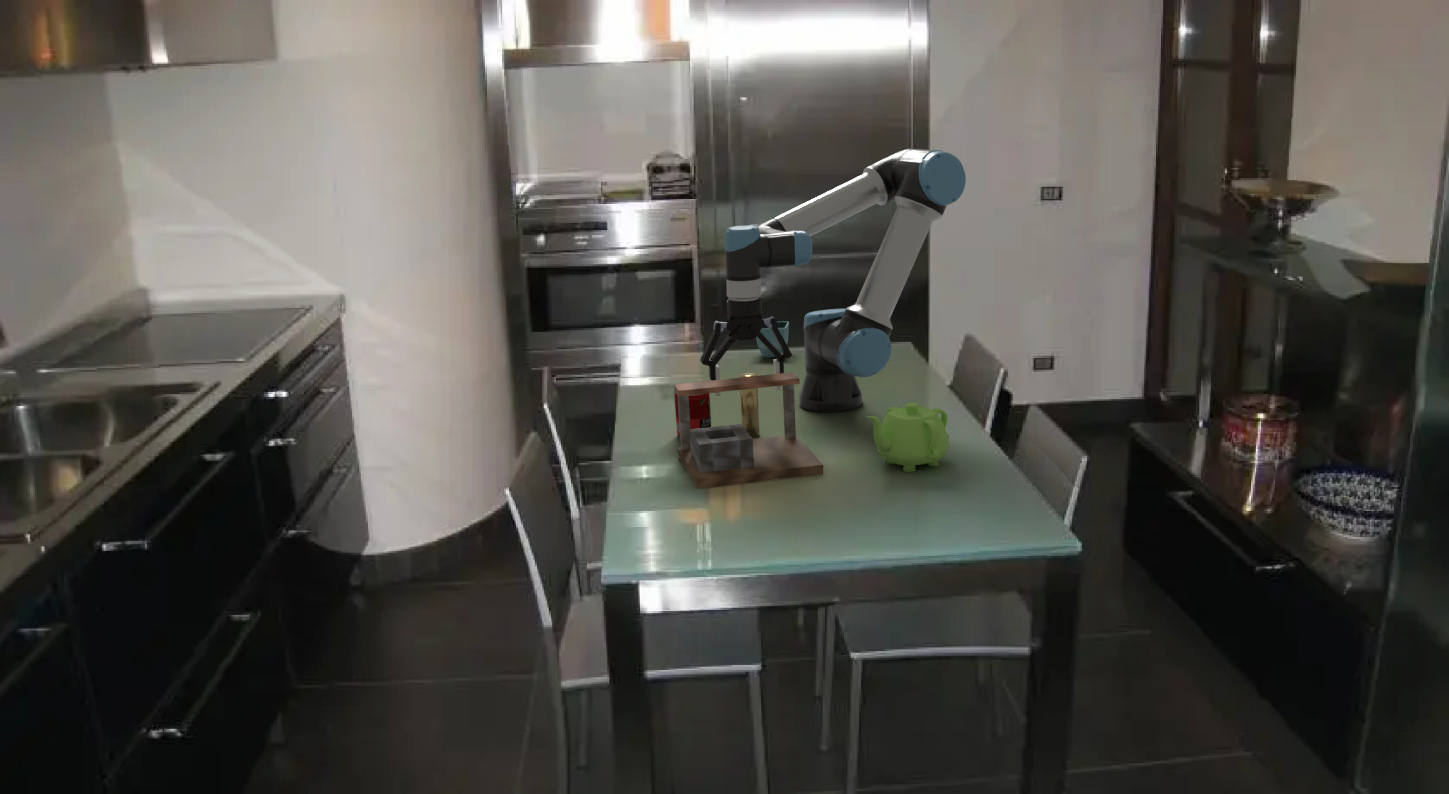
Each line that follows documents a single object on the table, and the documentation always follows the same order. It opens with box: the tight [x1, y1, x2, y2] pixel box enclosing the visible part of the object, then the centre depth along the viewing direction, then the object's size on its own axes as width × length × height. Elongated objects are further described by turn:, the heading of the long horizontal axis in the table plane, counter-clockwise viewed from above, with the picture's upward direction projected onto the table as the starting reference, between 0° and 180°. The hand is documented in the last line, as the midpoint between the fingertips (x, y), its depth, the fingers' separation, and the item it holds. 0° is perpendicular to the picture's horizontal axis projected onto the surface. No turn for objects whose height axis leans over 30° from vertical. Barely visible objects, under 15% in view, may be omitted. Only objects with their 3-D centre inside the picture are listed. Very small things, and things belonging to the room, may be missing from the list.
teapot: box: [866, 402, 950, 473], centre depth 250 cm, size 16×14×13 cm
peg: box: [738, 372, 761, 439], centre depth 275 cm, size 4×4×14 cm
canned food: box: [673, 389, 712, 438], centre depth 278 cm, size 8×8×11 cm
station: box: [673, 371, 824, 490], centre depth 255 cm, size 26×22×16 cm
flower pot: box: [755, 321, 790, 359], centre depth 348 cm, size 9×9×9 cm
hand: (747, 391), depth 274 cm, fingers open, 13 cm apart
